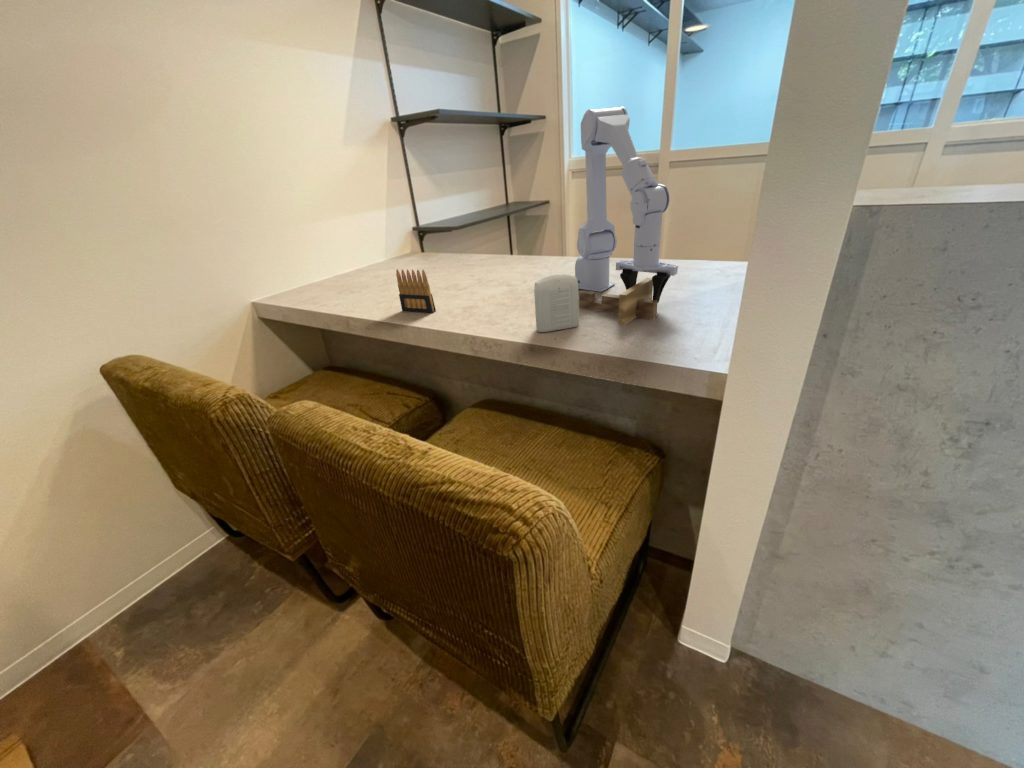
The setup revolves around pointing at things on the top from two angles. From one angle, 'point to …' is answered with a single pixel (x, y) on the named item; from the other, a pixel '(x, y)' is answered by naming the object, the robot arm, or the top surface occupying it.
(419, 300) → the ammunition clip
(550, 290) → the miniature gravestone
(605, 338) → the top surface
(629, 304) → the crossbar
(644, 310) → the slotted beam
